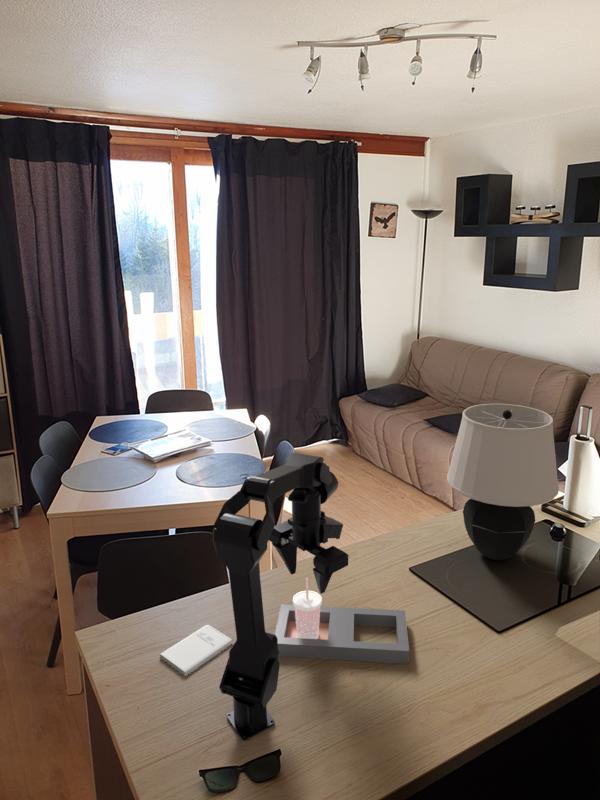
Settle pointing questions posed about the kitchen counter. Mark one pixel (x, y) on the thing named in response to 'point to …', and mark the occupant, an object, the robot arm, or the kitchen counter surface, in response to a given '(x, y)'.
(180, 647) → the external hard drive
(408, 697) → the kitchen counter surface
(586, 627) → the kitchen counter surface
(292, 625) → the cup caddy
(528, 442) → the table lamp
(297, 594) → the beverage cup
